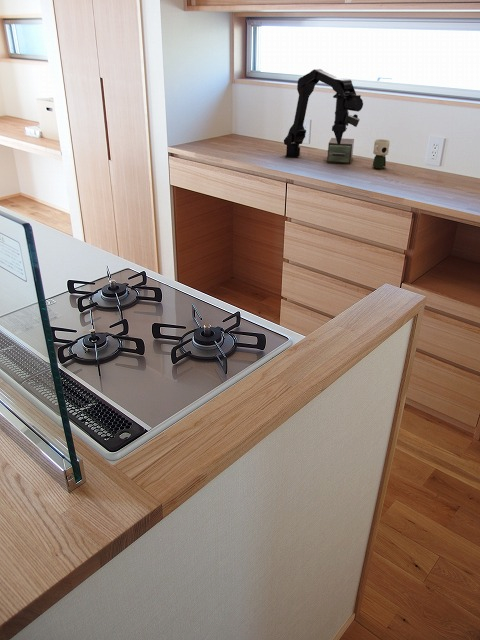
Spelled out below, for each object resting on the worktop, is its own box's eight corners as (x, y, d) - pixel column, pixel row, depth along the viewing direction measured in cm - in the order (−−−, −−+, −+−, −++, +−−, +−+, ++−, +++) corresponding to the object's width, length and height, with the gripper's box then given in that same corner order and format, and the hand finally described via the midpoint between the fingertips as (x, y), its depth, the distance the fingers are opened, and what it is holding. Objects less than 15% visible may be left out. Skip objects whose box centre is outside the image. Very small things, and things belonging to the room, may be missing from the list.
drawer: (348, 164, 267) (349, 148, 263) (327, 163, 269) (328, 147, 266) (350, 157, 282) (352, 141, 278) (330, 155, 284) (332, 140, 280)
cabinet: (350, 163, 272) (352, 144, 268) (327, 162, 275) (328, 142, 270) (352, 157, 284) (354, 139, 279) (329, 156, 286) (331, 137, 282)
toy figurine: (378, 171, 260) (381, 143, 253) (365, 168, 264) (369, 141, 258) (391, 167, 266) (395, 140, 260) (379, 165, 271) (382, 138, 264)
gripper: (358, 112, 240) (354, 148, 248) (360, 107, 256) (357, 141, 263) (333, 111, 242) (330, 147, 250) (336, 106, 258) (334, 140, 266)
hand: (338, 144), depth 257 cm, fingers closed
